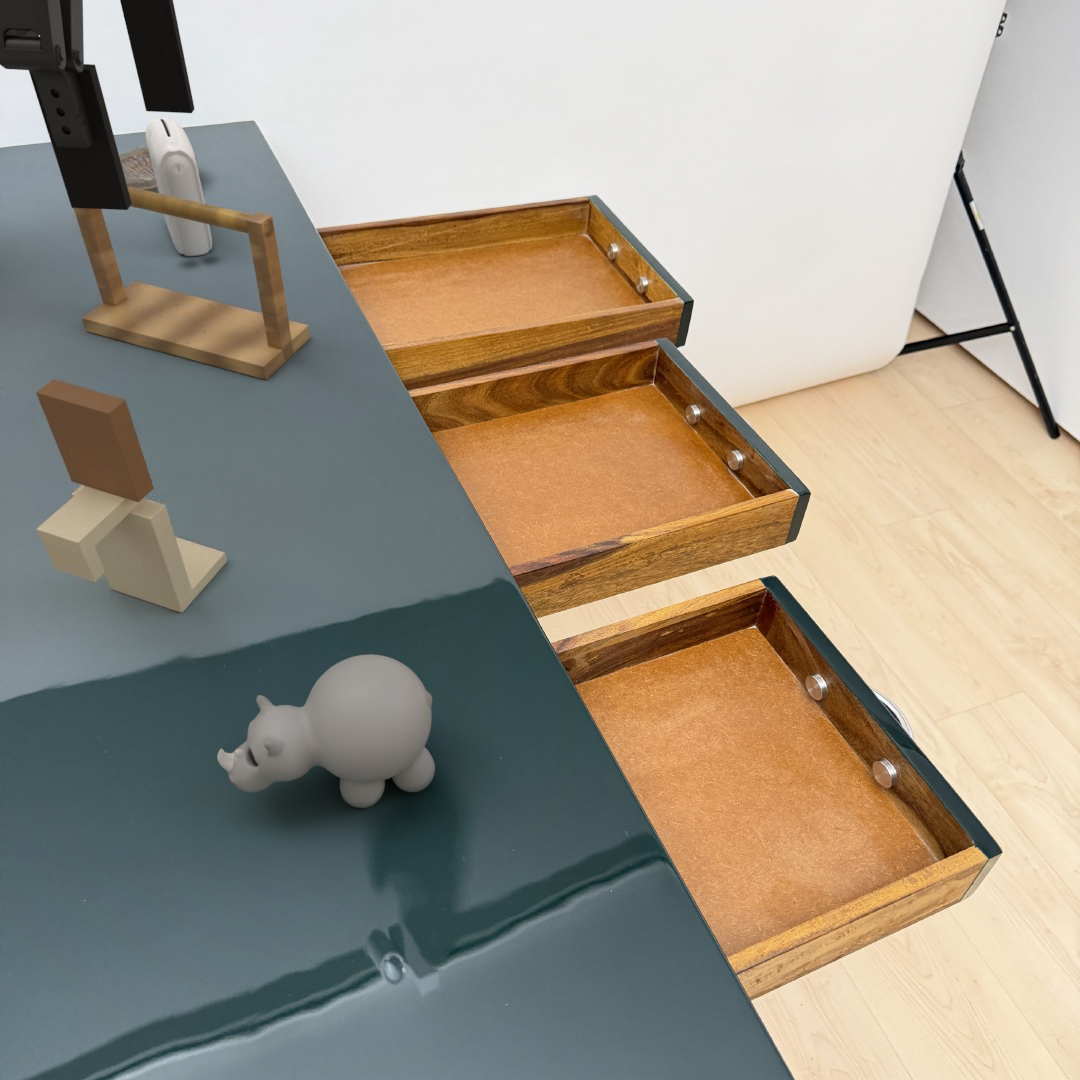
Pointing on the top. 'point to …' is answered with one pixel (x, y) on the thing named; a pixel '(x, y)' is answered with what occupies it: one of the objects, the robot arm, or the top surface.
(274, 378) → the top surface
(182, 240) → the white rounded oblong piece
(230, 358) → the stand
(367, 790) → the round bodied animal figurine
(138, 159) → the fossil
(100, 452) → the beige and brown blocks
